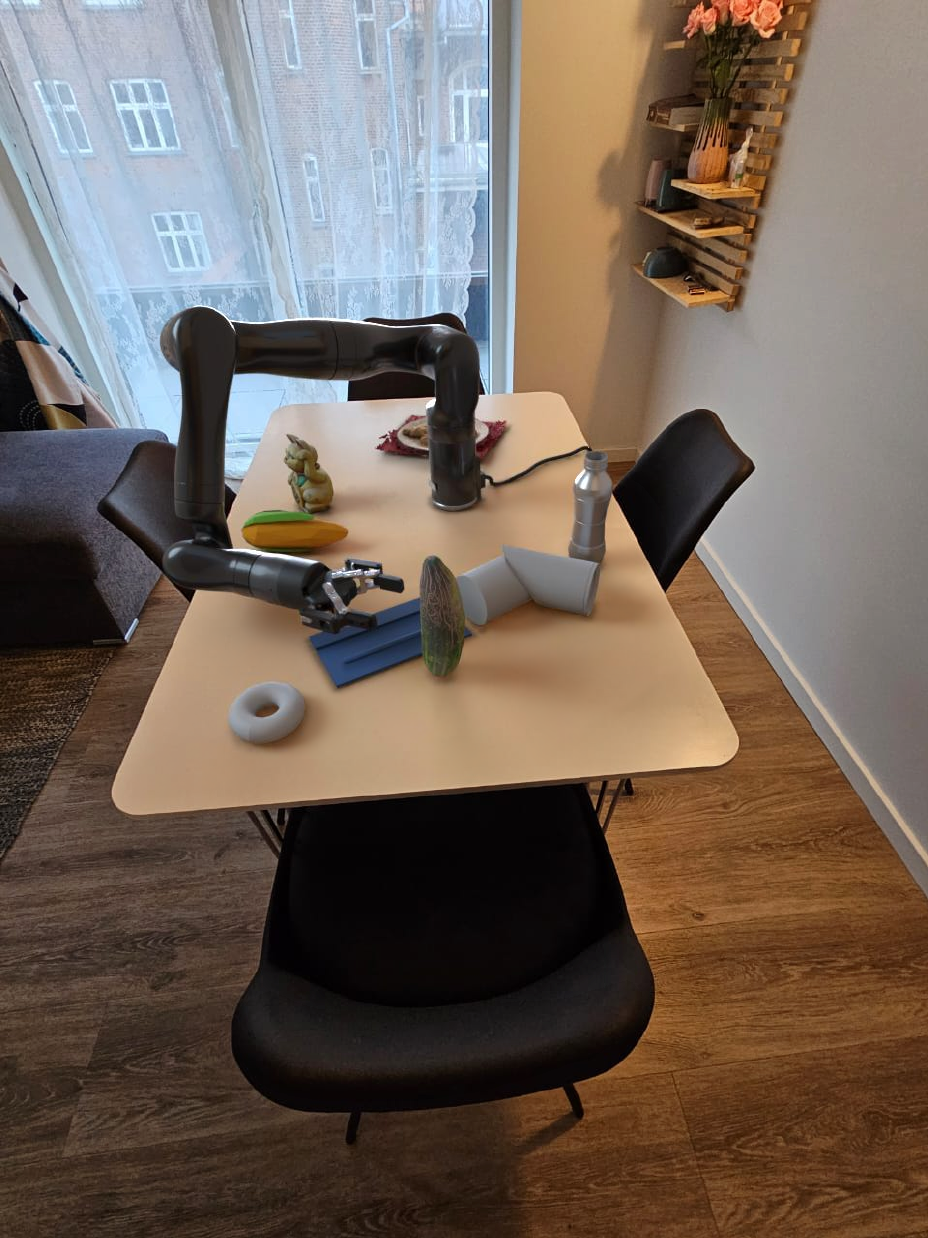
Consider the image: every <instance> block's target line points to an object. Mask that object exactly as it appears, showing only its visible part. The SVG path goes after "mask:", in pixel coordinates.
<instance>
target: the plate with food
mask: <svg viewBox="0 0 928 1238" xmlns="http://www.w3.org/2000/svg"><path fill="white" fill-rule="evenodd" d="M507 422H508V421H507V420H505V419H504V420H502V421H500V420H499V419H498V420H496V421H495V422H492V421H481V420H479V419H478V418H476V417H475V433H476V454H477V455H479V456H480V460H483V459H484V457H485V455H486V454H487V453H488V451H489V450H491V448H492V447H493V445H495V444H496V443H497V441H499V439H500V437H501V434H502V432H503V431H504V426H506V424H507ZM381 439H385V440H384V441H383V442H382V443H379V444H378V445H376V447H374V449H375V450H379V451H382V452H385V454H386V453H389V452H394V453H397V455H399V456H400V455H401V456H403V455H407V454H408V455H412V456H414V455H416V456H422V457H424V458H427V457H428V458H429V455H426V454H423V453H420V452H417V451H428V452H429V448H428V434H427V421H426V414H425V415H420V416H419V415H415V414H411V415H410V416H409V417H408V418H407V419H406V420H405V422H404V423H403V424H402V425H401V426H399V427H398V428H397V429H392V431H391V430H388V433H385V434H383V435H381V436H380V437H378V440H381Z"/></svg>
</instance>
